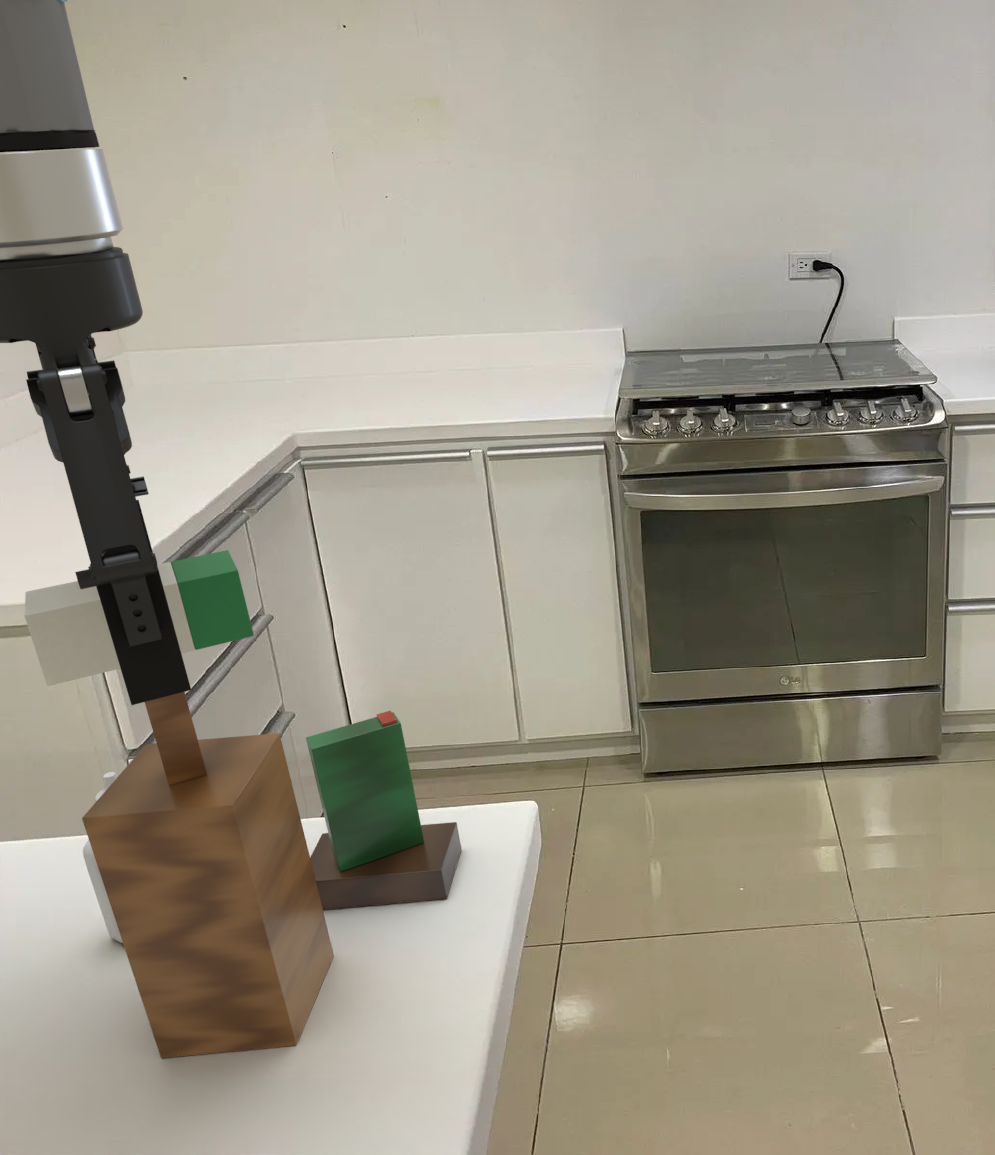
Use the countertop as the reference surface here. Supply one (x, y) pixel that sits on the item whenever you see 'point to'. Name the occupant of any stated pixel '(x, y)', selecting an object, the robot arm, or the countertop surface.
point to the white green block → (80, 631)
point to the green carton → (366, 790)
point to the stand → (212, 887)
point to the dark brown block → (390, 872)
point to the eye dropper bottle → (96, 876)
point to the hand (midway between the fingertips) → (150, 648)
